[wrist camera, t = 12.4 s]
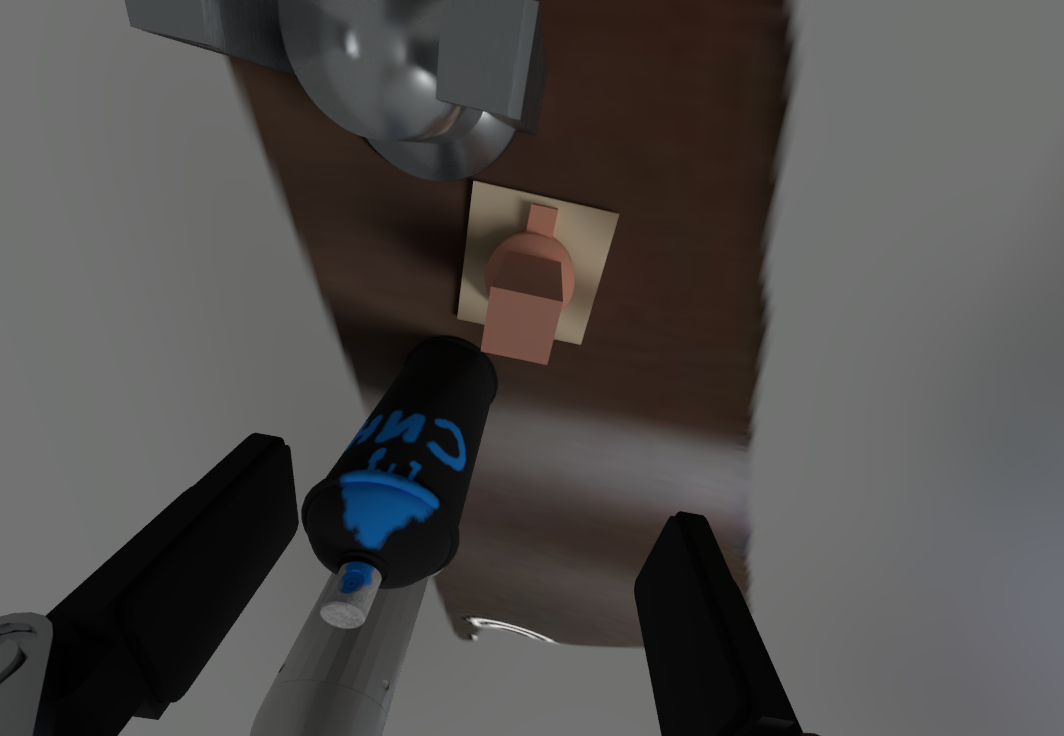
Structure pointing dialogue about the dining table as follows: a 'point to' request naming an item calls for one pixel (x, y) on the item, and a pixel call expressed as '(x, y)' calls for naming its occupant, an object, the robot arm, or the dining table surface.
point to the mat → (509, 213)
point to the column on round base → (387, 67)
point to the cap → (527, 289)
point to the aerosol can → (402, 480)
